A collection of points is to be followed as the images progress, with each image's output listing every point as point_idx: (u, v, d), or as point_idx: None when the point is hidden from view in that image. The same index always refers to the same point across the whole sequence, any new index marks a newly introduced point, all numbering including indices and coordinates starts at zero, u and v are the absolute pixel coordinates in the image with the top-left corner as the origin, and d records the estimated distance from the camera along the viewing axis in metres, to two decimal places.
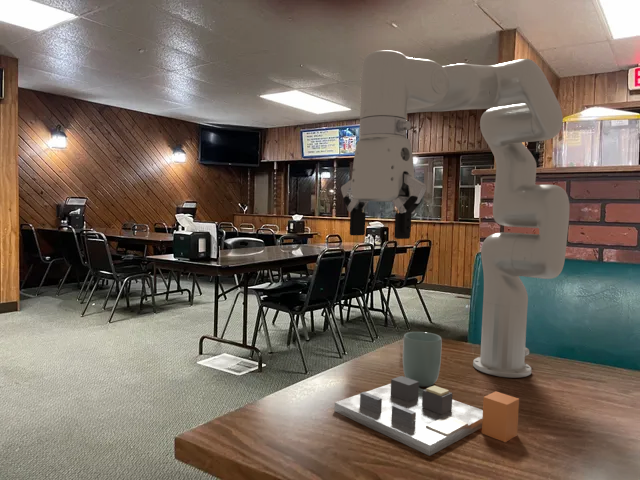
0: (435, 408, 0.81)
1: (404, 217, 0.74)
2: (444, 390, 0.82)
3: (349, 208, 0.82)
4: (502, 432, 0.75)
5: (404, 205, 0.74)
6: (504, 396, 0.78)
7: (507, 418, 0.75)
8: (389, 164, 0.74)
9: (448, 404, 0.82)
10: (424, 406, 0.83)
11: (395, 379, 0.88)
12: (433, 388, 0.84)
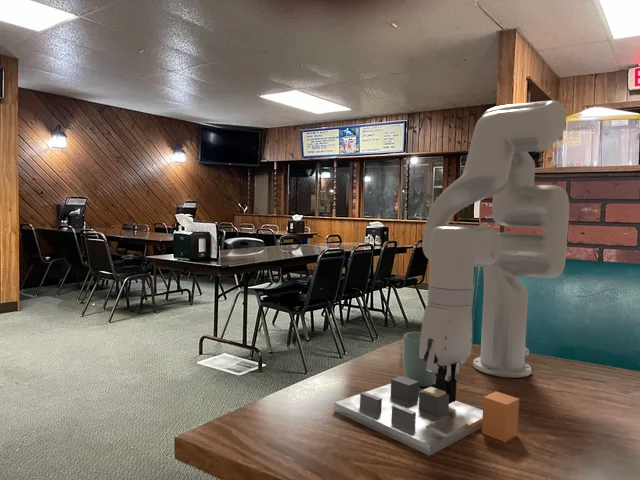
0: (432, 409, 0.81)
1: None
2: (441, 391, 0.82)
3: (448, 379, 0.83)
4: (502, 432, 0.75)
5: None
6: (504, 396, 0.78)
7: (507, 418, 0.75)
8: (470, 328, 0.85)
9: (445, 405, 0.81)
10: (421, 407, 0.83)
11: (395, 379, 0.88)
12: (430, 389, 0.83)
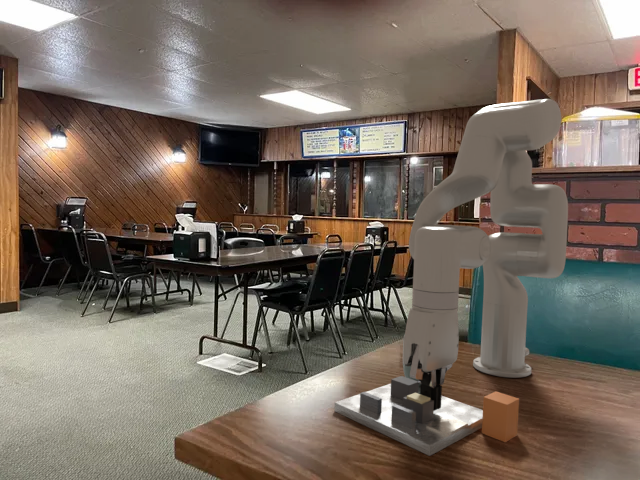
0: None
1: None
2: (425, 398, 0.79)
3: (433, 385, 0.80)
4: (502, 432, 0.75)
5: None
6: (504, 396, 0.78)
7: (507, 418, 0.75)
8: (456, 332, 0.82)
9: (429, 412, 0.78)
10: None
11: (395, 379, 0.88)
12: (414, 395, 0.80)
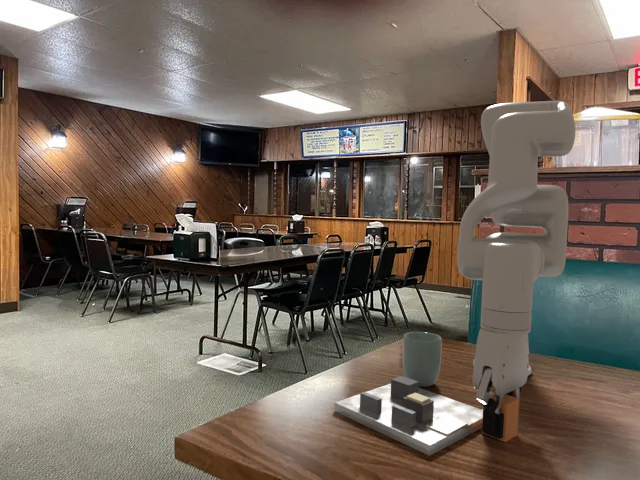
0: None
1: None
2: (425, 398, 0.79)
3: (498, 411, 0.74)
4: None
5: None
6: (504, 396, 0.78)
7: (507, 418, 0.75)
8: (527, 353, 0.78)
9: (429, 412, 0.78)
10: None
11: (395, 379, 0.88)
12: (414, 395, 0.80)
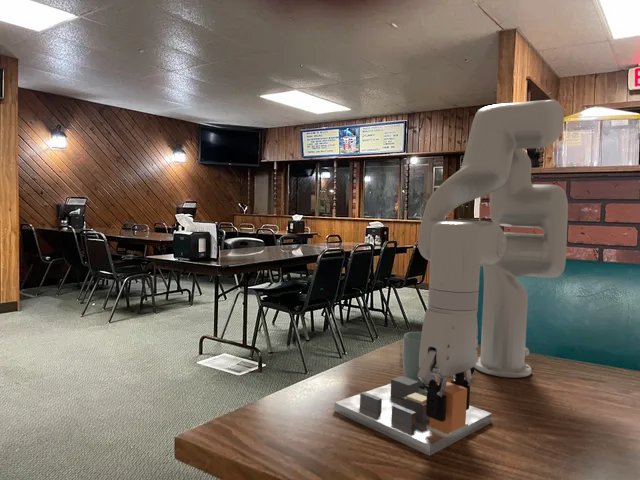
0: None
1: None
2: (425, 398, 0.79)
3: (440, 393, 0.72)
4: (449, 422, 0.74)
5: None
6: (452, 386, 0.77)
7: (453, 408, 0.73)
8: (476, 335, 0.76)
9: None
10: None
11: (395, 379, 0.88)
12: (414, 395, 0.80)
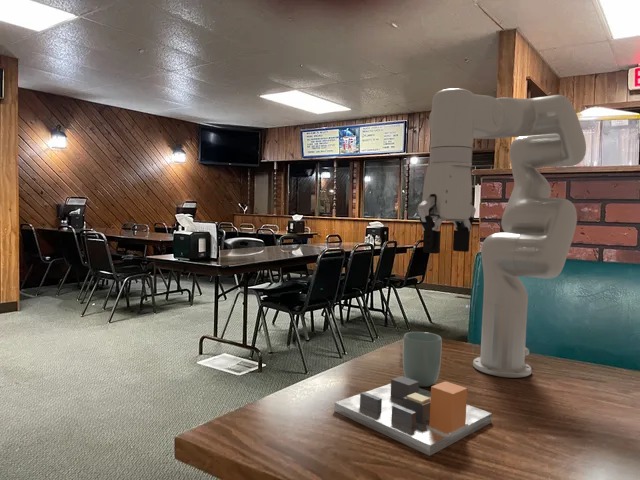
0: None
1: None
2: (425, 398, 0.79)
3: (435, 227, 0.84)
4: (449, 422, 0.74)
5: None
6: (452, 386, 0.77)
7: (453, 408, 0.73)
8: (470, 190, 0.89)
9: (429, 412, 0.78)
10: None
11: (395, 379, 0.88)
12: (414, 395, 0.80)
